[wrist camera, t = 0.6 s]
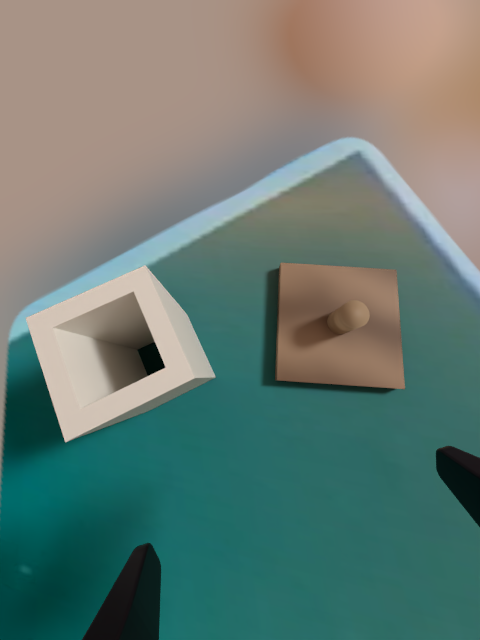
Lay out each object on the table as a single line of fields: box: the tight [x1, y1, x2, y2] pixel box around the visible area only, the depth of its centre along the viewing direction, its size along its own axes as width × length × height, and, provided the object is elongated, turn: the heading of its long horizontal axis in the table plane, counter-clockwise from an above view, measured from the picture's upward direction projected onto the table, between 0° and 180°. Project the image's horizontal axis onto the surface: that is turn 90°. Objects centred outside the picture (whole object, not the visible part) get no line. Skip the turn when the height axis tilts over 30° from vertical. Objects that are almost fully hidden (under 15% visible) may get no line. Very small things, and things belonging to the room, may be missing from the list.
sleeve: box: [26, 266, 216, 442], centre depth 17 cm, size 6×6×10 cm
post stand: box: [275, 263, 405, 389], centre depth 20 cm, size 10×10×4 cm
